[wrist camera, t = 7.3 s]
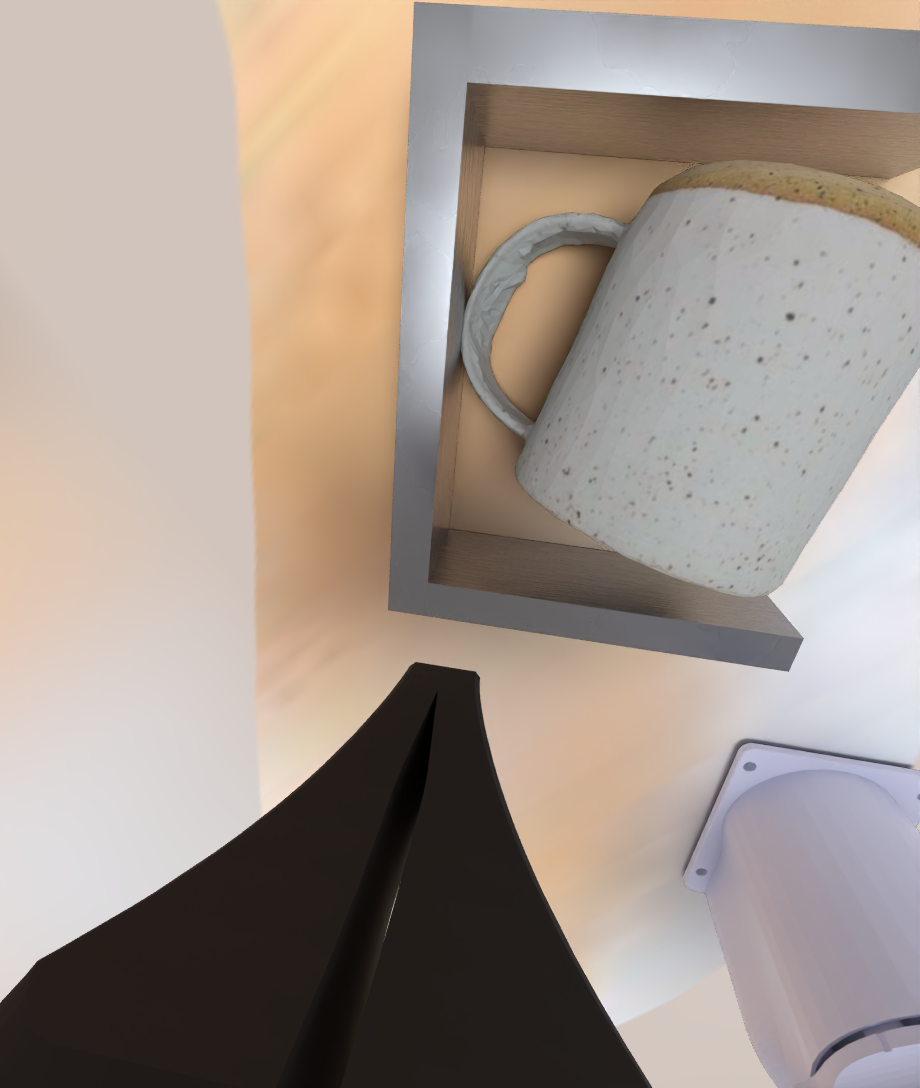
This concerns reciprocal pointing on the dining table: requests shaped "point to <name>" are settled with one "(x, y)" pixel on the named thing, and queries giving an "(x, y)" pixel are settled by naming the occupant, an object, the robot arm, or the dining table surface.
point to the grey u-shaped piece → (620, 131)
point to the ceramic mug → (716, 365)
